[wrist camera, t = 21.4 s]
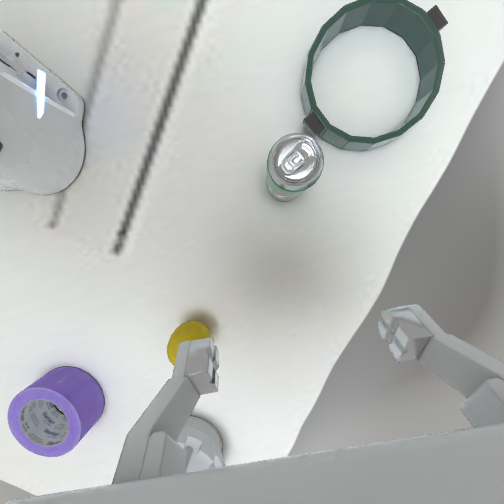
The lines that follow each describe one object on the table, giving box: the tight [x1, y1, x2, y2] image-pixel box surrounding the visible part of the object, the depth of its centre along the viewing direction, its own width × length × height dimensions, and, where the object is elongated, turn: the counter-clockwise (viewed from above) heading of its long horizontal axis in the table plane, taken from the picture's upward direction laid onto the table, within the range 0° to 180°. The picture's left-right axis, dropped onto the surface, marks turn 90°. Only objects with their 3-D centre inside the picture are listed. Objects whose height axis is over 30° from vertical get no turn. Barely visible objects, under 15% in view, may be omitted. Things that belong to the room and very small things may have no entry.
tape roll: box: [8, 367, 104, 457], centre depth 35 cm, size 12×12×5 cm
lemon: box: [167, 321, 211, 366], centre depth 31 cm, size 6×6×8 cm
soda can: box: [267, 133, 324, 202], centre depth 25 cm, size 5×5×12 cm
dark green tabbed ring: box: [301, 0, 448, 151], centre depth 27 cm, size 15×18×3 cm
